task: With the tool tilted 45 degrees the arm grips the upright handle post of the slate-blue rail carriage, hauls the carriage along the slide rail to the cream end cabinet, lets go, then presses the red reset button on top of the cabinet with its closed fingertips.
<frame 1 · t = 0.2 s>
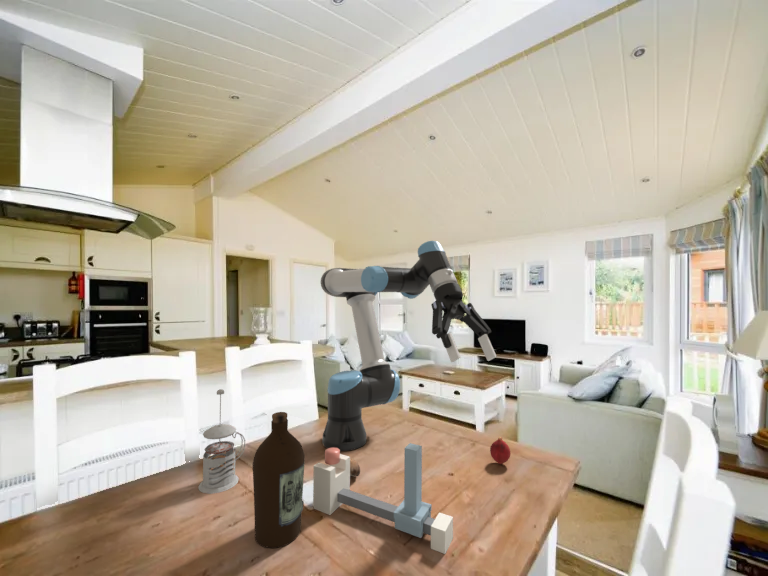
hand: (474, 359, 85), 35 cm above the table, tool tilted 35°, fingers open, 13 cm apart
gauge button: (332, 455, 83), point 11 cm above the table, slide at 0.0 cm
mushroom: (346, 478, 94), on the table
french press: (222, 482, 92), on the table
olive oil: (278, 533, 72), on the table
slide rail: (384, 521, 76), on the table
carriage: (413, 486, 73), point 10 cm above the table, slide at 0.0 cm
onion: (500, 464, 102), on the table
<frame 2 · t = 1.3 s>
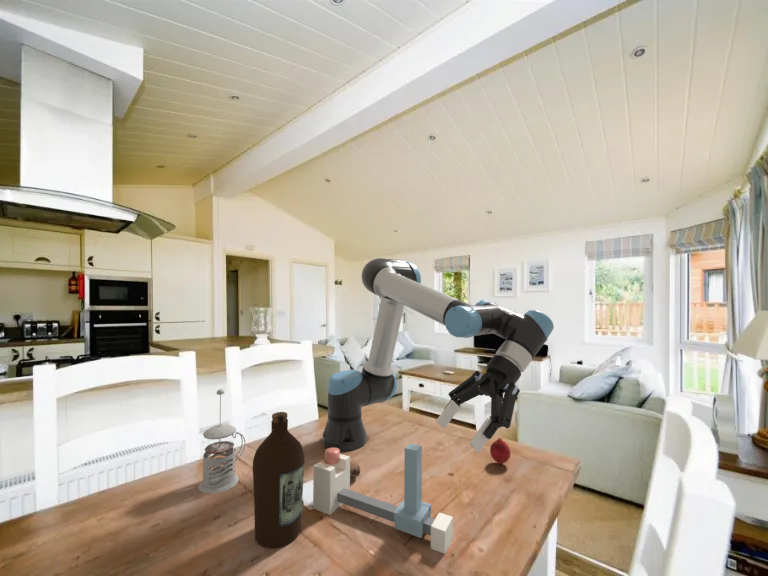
hand: (455, 435, 77), 19 cm above the table, tool tilted 45°, fingers open, 13 cm apart
nothing on the table moved.
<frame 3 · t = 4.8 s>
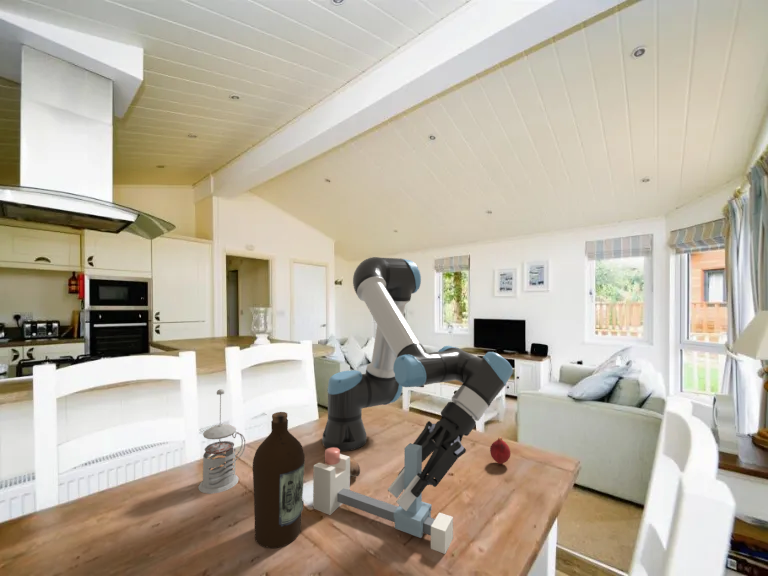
hand: (396, 499, 71), 8 cm above the table, tool tilted 45°, fingers closed on carriage, 4 cm apart
carriage: (413, 486, 73), point 10 cm above the table, slide at 0.0 cm, touching gripper
everything else where it was.
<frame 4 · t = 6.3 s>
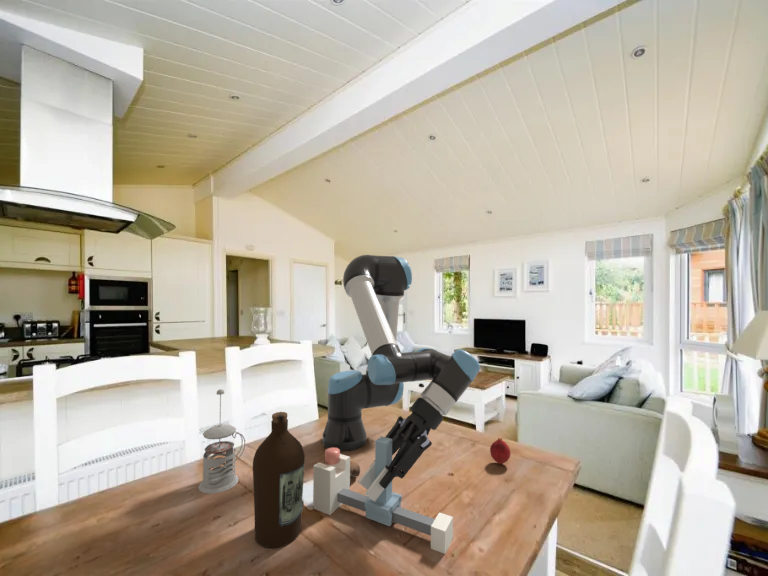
hand: (366, 491, 75), 8 cm above the table, tool tilted 45°, fingers closed on carriage, 4 cm apart
carriage: (383, 477, 76), point 10 cm above the table, slide at 7.2 cm, touching gripper
everything else where it was.
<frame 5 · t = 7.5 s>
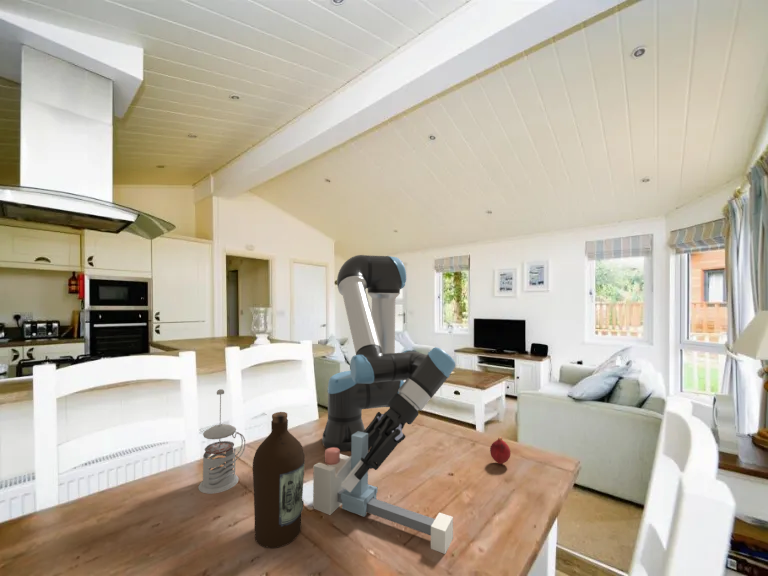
hand: (342, 482, 78), 8 cm above the table, tool tilted 45°, fingers closed on carriage, 4 cm apart
carriage: (359, 470, 79), point 10 cm above the table, slide at 13.6 cm, touching gripper
everything else where it was.
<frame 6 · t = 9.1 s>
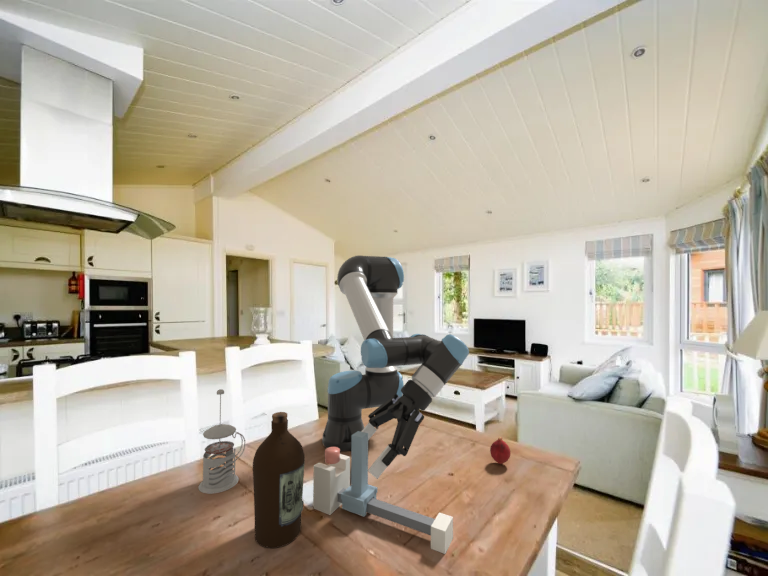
hand: (363, 459, 79), 12 cm above the table, tool tilted 45°, fingers open, 13 cm apart
carriage: (359, 470, 79), point 10 cm above the table, slide at 13.6 cm
everything else where it was.
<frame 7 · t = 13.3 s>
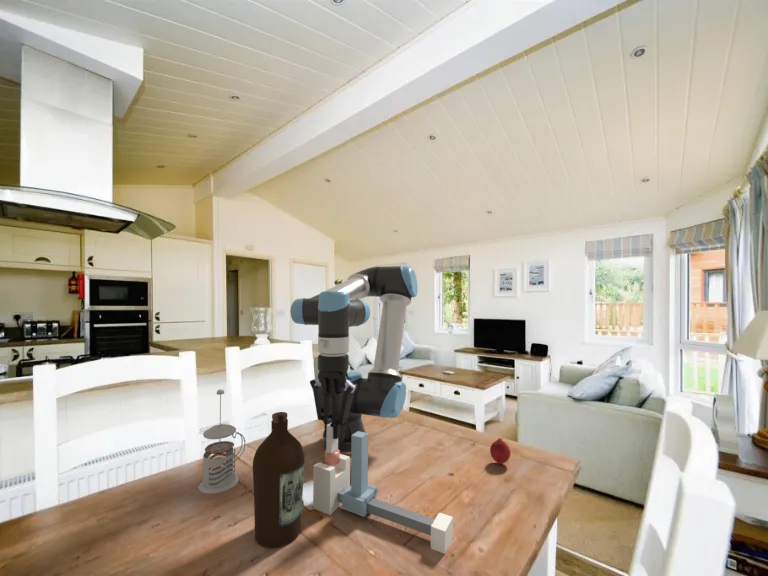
hand: (332, 450, 83), 13 cm above the table, tool pointing down, fingers closed
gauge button: (332, 456, 83), point 11 cm above the table, slide at 0.2 cm, touching gripper
everything else where it was.
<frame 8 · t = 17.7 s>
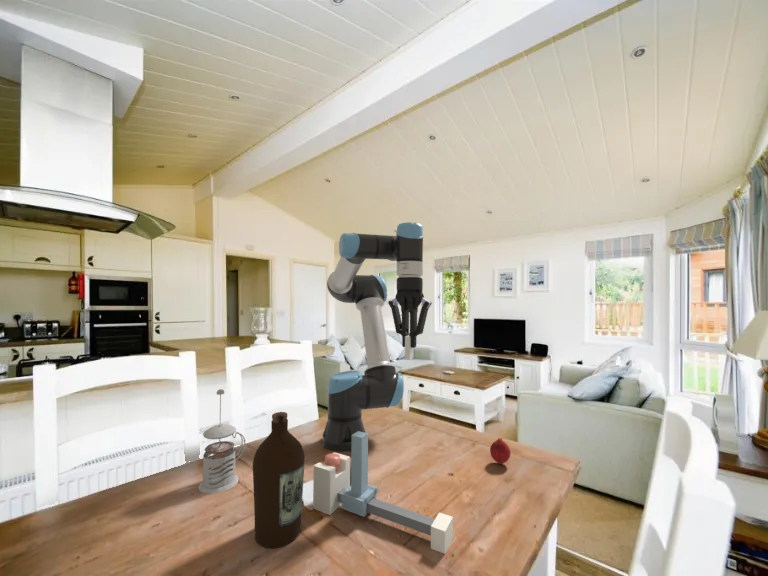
hand: (409, 358, 98), 32 cm above the table, tool pointing down, fingers closed
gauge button: (332, 461, 83), point 10 cm above the table, slide at 1.5 cm
everything else where it was.
at the end: carriage slide at 13.6 cm; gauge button slide at 1.5 cm; the gripper is holding nothing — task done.
